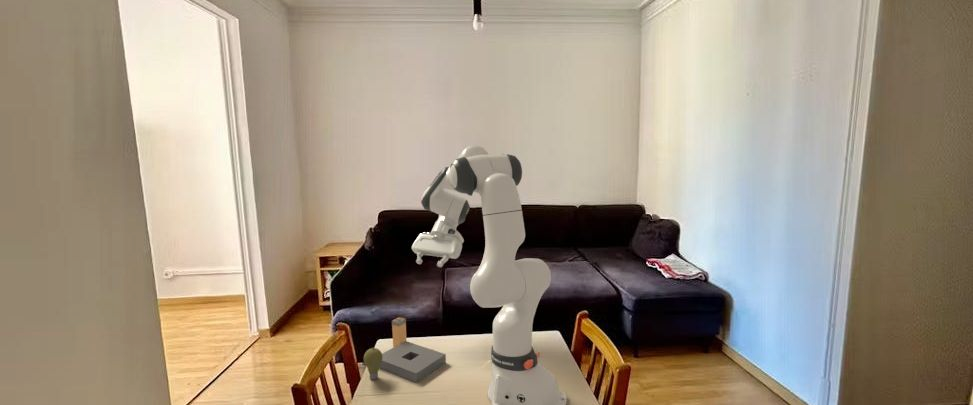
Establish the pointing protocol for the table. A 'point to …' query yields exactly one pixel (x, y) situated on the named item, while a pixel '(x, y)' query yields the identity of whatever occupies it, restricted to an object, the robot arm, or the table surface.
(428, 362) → the grey block with hole
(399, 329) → the plug
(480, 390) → the table surface
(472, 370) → the table surface
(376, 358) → the light bulb
